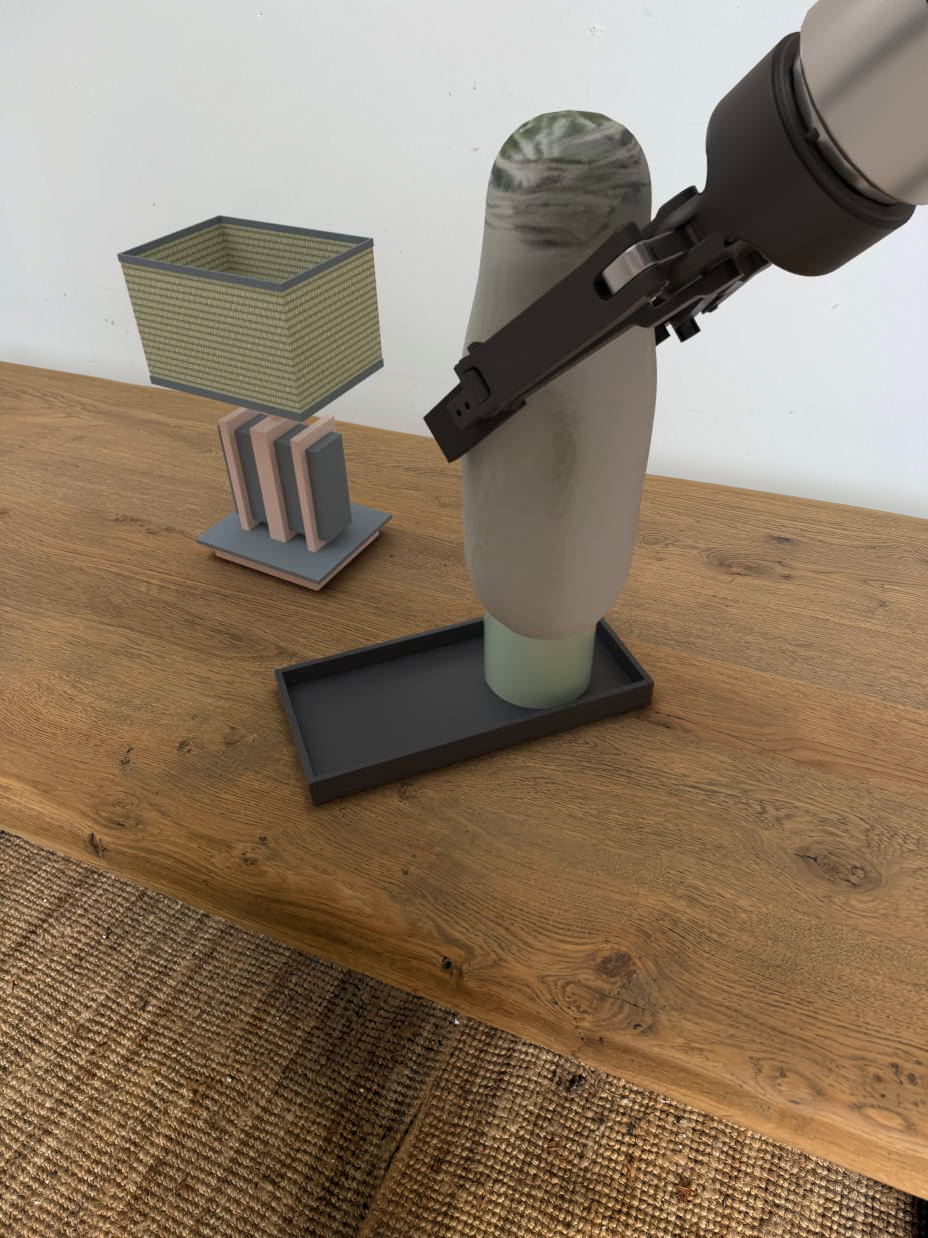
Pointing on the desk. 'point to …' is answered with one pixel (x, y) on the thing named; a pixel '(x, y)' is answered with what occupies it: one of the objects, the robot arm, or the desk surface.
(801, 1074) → the desk surface
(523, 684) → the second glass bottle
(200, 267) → the woven storage basket
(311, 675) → the tray
